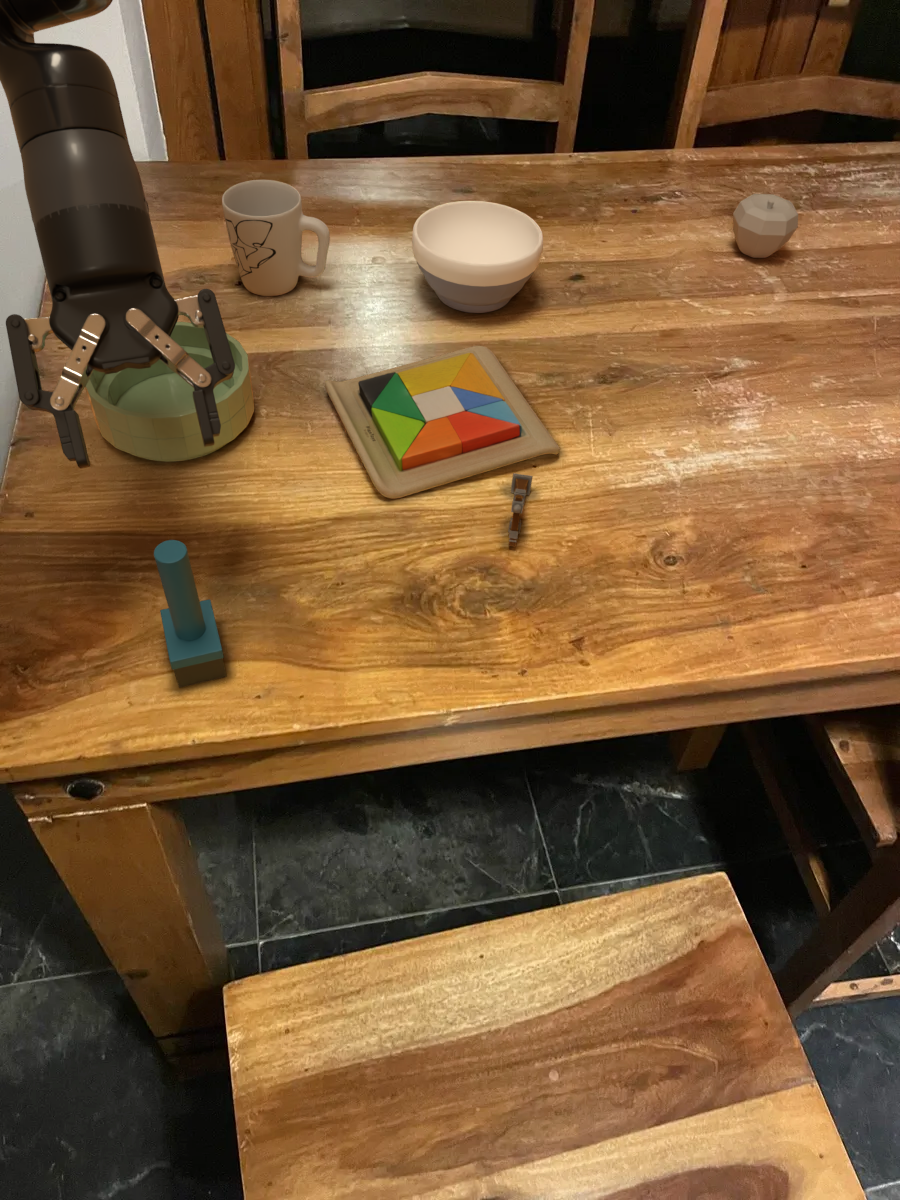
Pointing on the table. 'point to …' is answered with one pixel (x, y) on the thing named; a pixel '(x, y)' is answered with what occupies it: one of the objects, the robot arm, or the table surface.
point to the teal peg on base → (187, 619)
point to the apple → (763, 224)
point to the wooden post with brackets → (518, 504)
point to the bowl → (476, 253)
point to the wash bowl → (170, 403)
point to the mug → (271, 235)
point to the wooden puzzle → (438, 421)
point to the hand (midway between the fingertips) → (148, 455)
